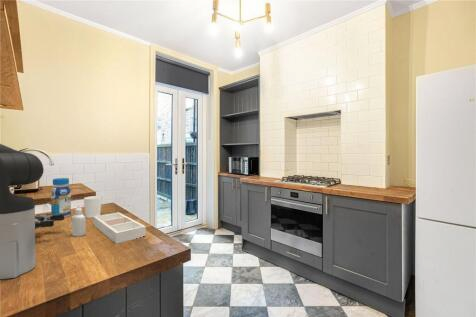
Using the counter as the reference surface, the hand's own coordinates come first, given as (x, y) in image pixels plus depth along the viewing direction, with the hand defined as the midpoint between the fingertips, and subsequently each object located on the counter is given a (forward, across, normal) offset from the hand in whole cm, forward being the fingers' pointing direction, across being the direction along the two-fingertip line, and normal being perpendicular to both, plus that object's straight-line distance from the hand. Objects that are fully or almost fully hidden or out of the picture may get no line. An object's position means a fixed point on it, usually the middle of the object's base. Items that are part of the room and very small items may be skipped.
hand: (59, 220), depth 90 cm
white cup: (+3, +30, +7) cm, 31 cm away
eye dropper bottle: (+7, 0, +7) cm, 10 cm away
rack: (+21, +2, +7) cm, 22 cm away
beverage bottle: (-13, +34, +7) cm, 37 cm away
